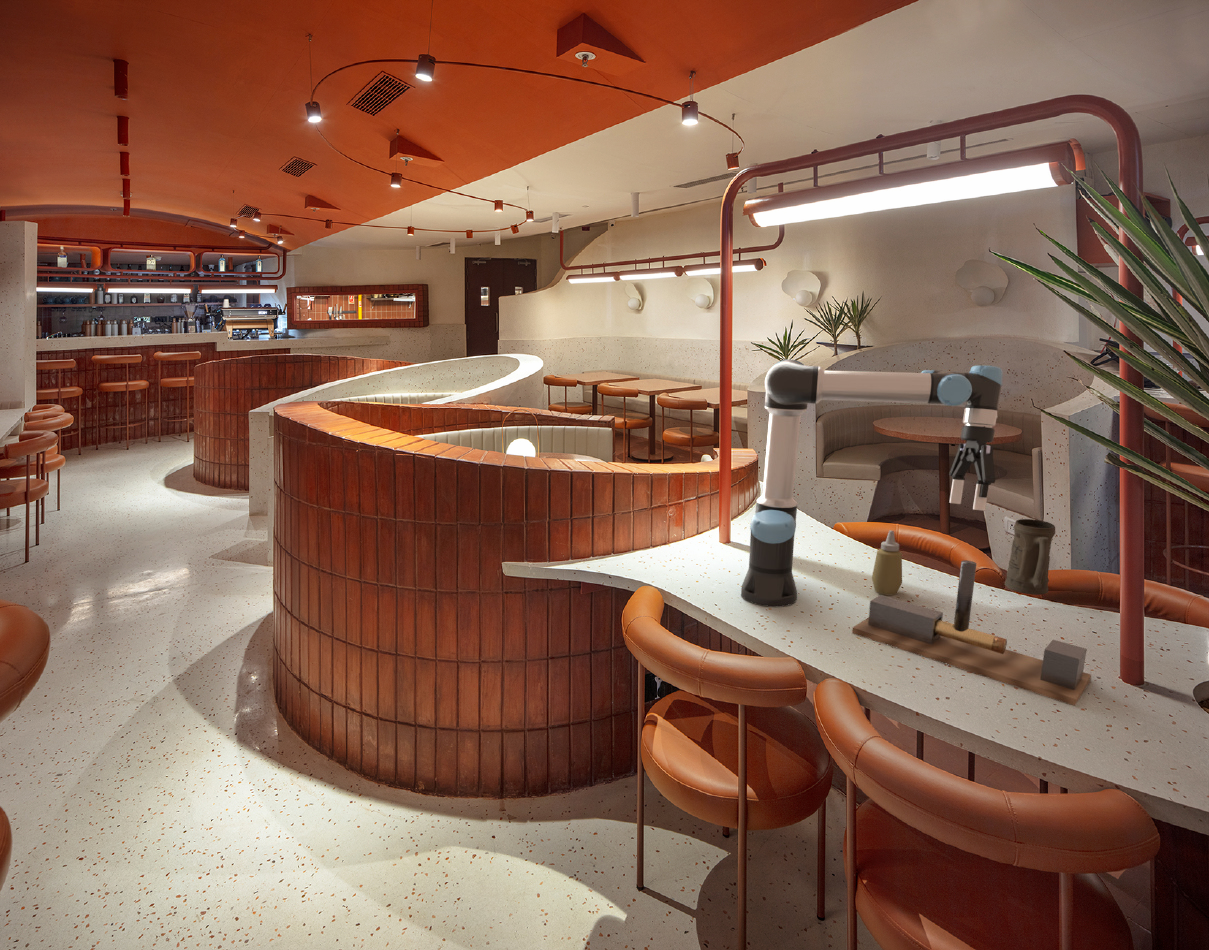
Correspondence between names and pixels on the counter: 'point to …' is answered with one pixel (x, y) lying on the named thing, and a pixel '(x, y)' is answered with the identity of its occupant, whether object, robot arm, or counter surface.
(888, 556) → the squeeze bottle
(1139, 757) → the counter surface
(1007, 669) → the base board
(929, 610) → the outer sleeve
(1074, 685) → the socket
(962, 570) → the sliding bolt
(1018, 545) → the beer stein
